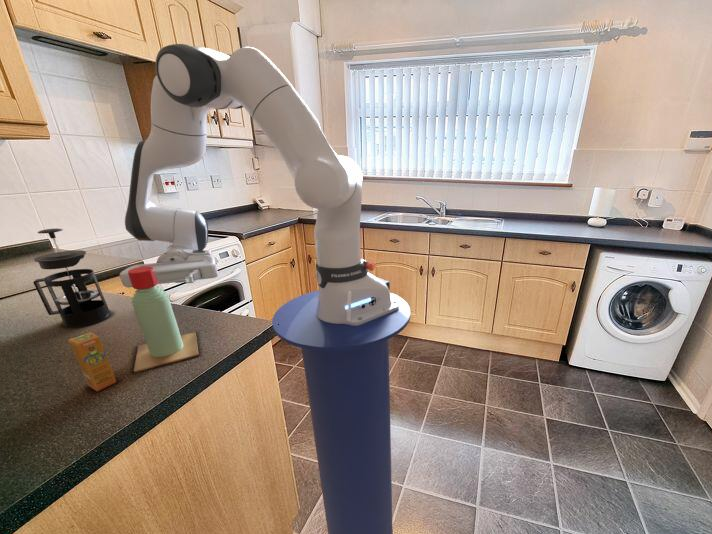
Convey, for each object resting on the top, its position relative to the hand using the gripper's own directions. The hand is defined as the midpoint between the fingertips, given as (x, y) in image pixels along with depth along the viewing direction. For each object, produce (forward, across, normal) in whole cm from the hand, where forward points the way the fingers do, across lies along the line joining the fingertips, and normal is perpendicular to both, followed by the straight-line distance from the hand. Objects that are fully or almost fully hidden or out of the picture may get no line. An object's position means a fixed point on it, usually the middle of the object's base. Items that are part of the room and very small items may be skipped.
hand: (165, 282), depth 77 cm
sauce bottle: (+12, 0, +11) cm, 16 cm away
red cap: (+12, 0, -4) cm, 12 cm away
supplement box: (+21, -8, +12) cm, 25 cm away
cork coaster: (+12, 0, +12) cm, 17 cm away
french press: (-13, -23, +12) cm, 29 cm away
